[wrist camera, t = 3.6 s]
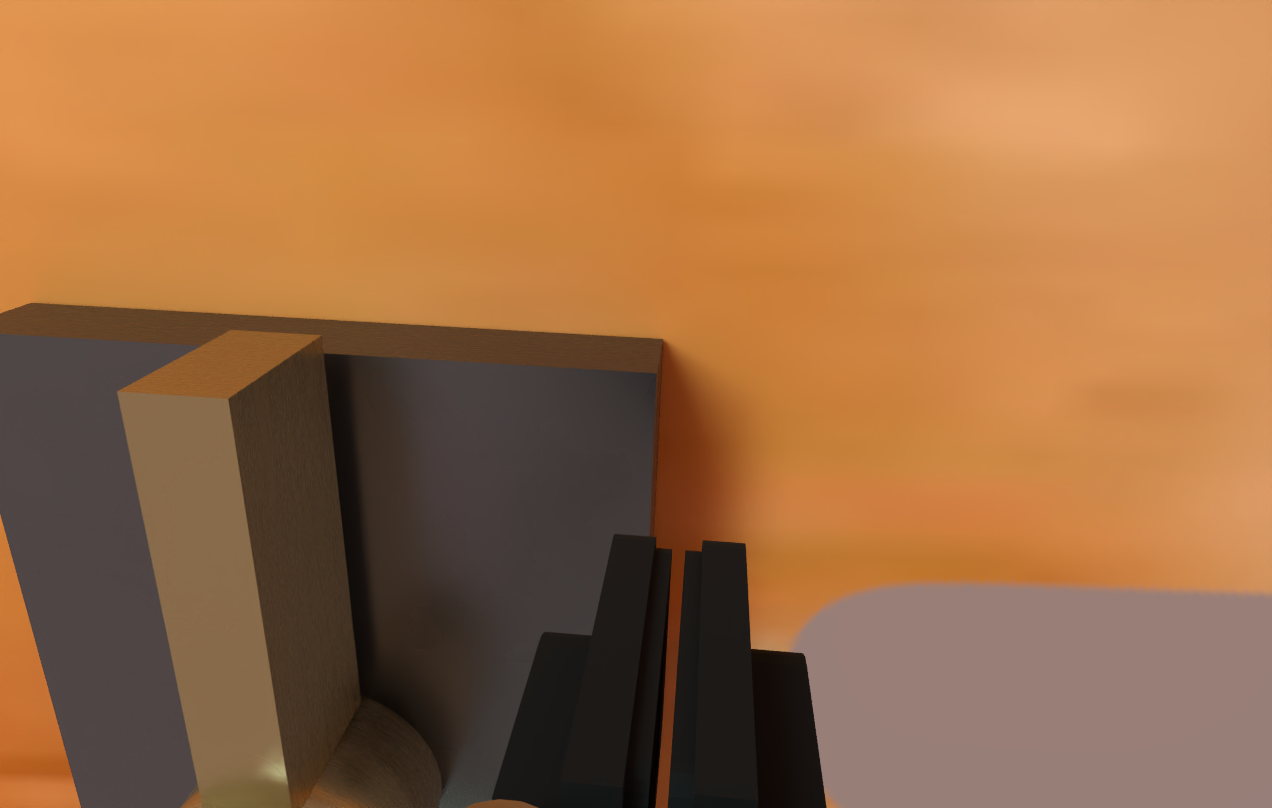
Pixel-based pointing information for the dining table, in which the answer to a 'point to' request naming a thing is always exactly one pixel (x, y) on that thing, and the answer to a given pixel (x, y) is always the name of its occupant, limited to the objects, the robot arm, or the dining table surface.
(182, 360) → the lever handle
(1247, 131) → the dining table surface
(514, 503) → the plate
